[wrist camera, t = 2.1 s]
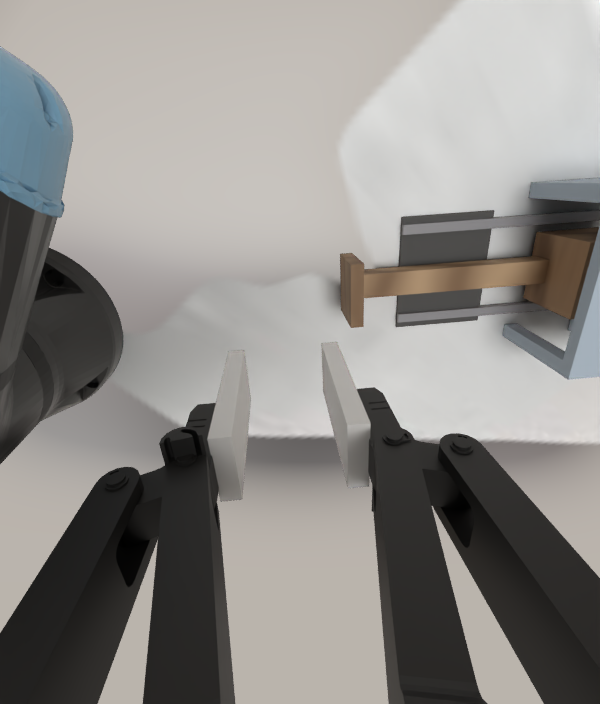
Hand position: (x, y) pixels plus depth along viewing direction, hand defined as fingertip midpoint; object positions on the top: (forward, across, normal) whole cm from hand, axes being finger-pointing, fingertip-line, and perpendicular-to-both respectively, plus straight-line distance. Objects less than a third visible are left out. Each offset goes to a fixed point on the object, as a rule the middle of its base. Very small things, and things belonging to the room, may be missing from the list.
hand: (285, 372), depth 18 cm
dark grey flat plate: (+17, +15, 0) cm, 22 cm away
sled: (+16, +17, 0) cm, 24 cm away
